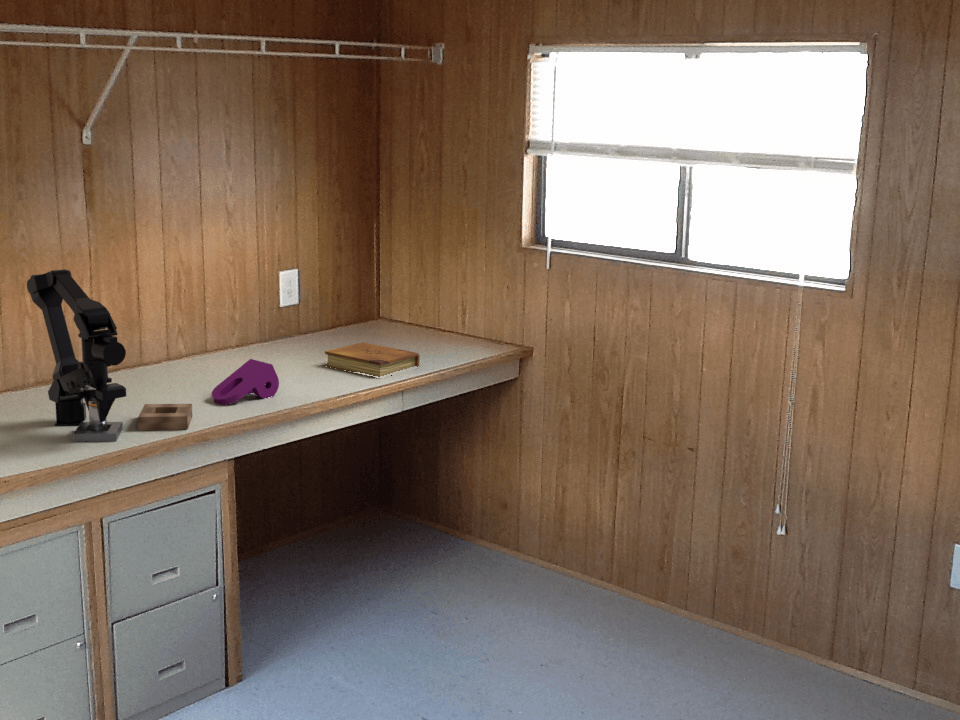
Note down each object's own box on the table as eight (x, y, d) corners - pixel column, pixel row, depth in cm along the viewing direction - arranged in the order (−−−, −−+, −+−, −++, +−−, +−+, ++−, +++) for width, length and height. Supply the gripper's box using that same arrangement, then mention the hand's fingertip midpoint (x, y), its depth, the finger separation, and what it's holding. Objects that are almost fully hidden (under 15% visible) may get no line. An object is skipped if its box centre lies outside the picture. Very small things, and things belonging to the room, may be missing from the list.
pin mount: (73, 441, 275) (73, 434, 274) (81, 429, 284) (81, 422, 284) (116, 441, 276) (115, 433, 276) (122, 429, 286) (122, 421, 285)
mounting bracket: (237, 426, 312) (282, 388, 322) (226, 402, 307) (272, 364, 318) (216, 419, 318) (261, 382, 328) (204, 395, 313) (250, 358, 324)
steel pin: (88, 434, 278) (86, 402, 276) (91, 429, 282) (89, 398, 280) (105, 433, 278) (104, 402, 276) (108, 429, 282) (107, 397, 280)
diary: (419, 370, 358) (419, 352, 357) (380, 381, 343) (380, 362, 342) (364, 358, 371) (364, 341, 370) (324, 368, 356) (324, 350, 355)
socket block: (138, 430, 285) (138, 416, 285) (145, 417, 297) (144, 404, 296) (187, 429, 287) (187, 416, 286) (192, 416, 299) (191, 403, 298)
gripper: (44, 355, 276) (48, 417, 280) (82, 370, 264) (85, 434, 267) (87, 349, 284) (90, 409, 288) (126, 362, 272) (128, 425, 275)
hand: (97, 419), depth 279 cm, fingers closed on steel pin, 4 cm apart
